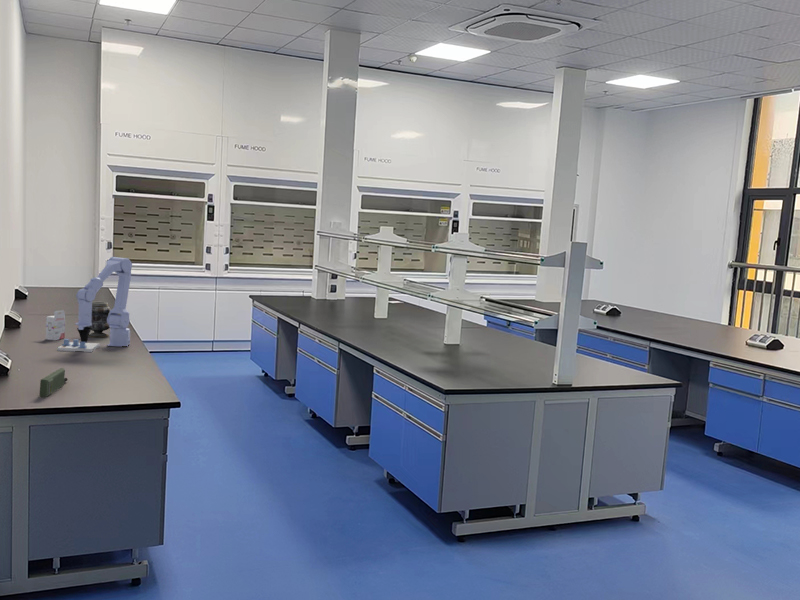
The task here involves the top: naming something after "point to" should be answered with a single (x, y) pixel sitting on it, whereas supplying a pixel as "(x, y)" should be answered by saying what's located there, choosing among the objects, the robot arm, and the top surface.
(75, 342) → the switch tab
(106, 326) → the dark grey stone urn
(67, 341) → the switch tab
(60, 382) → the handheld radio
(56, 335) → the ink cartridge box
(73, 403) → the top surface
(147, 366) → the top surface
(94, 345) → the switch board
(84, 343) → the switch tab
